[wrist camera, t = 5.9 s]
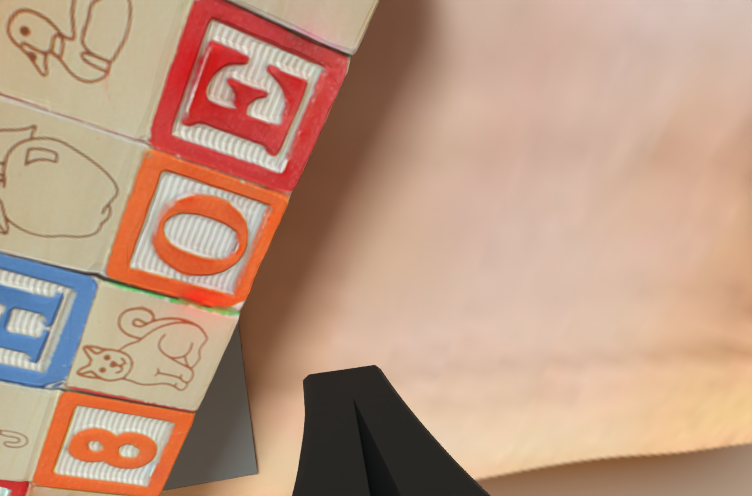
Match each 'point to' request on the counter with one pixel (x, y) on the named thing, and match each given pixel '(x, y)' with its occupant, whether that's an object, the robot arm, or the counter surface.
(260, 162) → the stack of blocks
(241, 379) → the mat
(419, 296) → the counter surface
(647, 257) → the counter surface
